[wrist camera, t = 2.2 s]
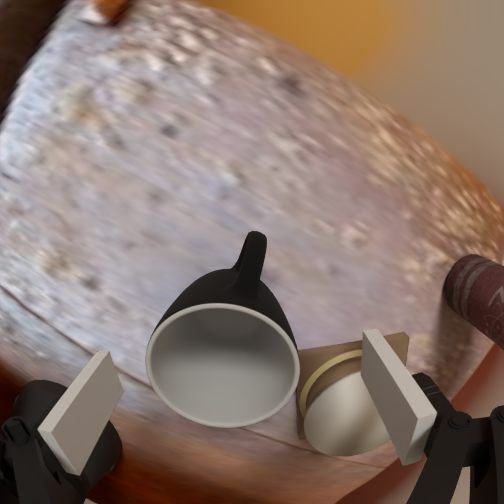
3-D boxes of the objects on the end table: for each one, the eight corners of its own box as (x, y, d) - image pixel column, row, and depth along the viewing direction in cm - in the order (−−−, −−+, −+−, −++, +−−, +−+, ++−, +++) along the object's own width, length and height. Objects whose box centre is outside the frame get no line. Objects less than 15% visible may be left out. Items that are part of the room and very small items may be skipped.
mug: (264, 361, 28) (271, 440, 18) (169, 334, 27) (136, 406, 18) (310, 237, 25) (346, 275, 16) (202, 204, 25) (172, 223, 15)
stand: (298, 431, 30) (304, 464, 26) (294, 350, 28) (302, 382, 23) (392, 413, 30) (407, 441, 25) (404, 331, 28) (427, 357, 23)
